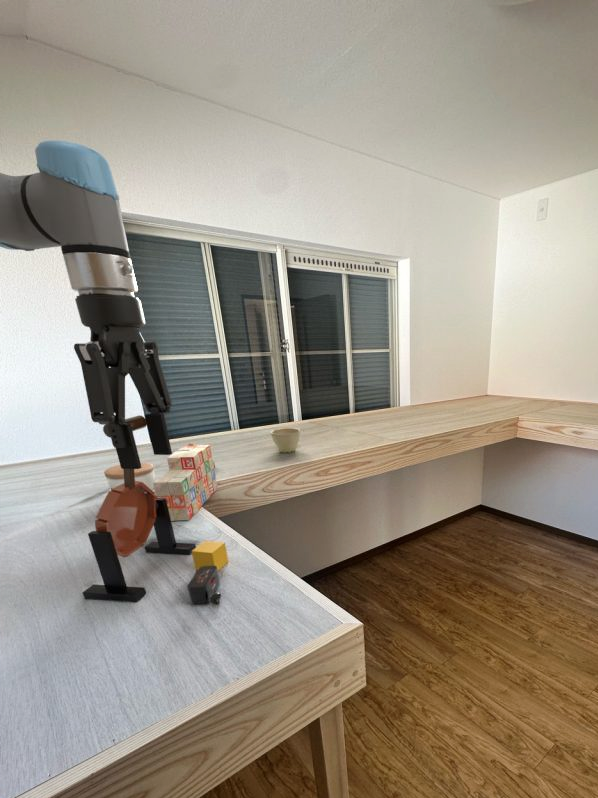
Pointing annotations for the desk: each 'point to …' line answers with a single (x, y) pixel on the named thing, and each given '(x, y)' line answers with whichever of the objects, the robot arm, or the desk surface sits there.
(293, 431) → the flower pot
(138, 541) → the tipping bowl
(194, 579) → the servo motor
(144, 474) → the trinket box
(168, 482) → the stack of blocks
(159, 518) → the bowl stand
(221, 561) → the block
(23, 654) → the desk surface
